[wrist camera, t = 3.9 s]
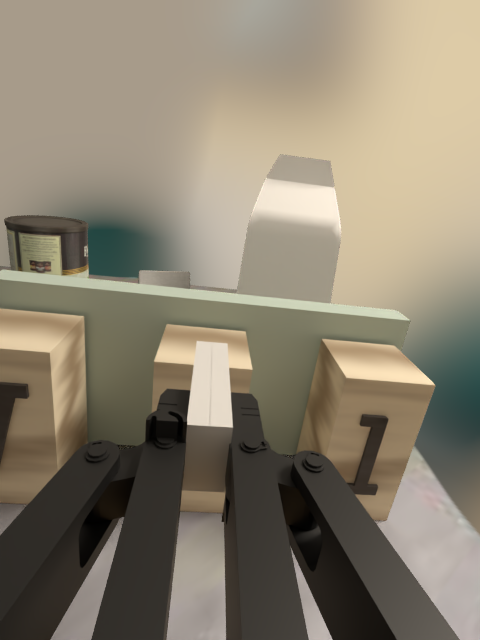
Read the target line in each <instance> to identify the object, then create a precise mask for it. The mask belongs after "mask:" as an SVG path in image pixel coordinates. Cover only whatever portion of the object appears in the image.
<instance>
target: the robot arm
mask: <svg viewBox="0 0 480 640" xmlns="http://www.w3.org/2000/svg"><path fill="white" fill-rule="evenodd" d="M182 491H205V492H224V491H225V492H226V493H225V500H224V508H223V515H222V522H224V538H225V592H226V640H309V639H308V634H307V629H306V624H305V619H304V614H303V609H302V604H301V599H300V594H299V589H298V584H297V578H296V573H295V568H294V563H293V558H292V553H291V548H292V551H293V553H294V555H295V557H296V560H297V562H298V564H299V566H300V568H301V571H302V573H303V575H304V577H305V579H306V582H307V584H308V586H309V588H310V590H311V593H312V595H313V597H314V599H315V601H316V604H317V606H318V608H319V610H320V613H321V615H322V617H323V619H324V621H325V624H326V626H327V628H328V630H329V632H330V635H331V637H332V639H333V640H460V639H459V638H458V637H457V635H456V634H455V633H454V631H453V630H452V628H451V627H450V626H449V624H448V623H447V621H446V620H445V619H444V617H443V616H442V615H441V613H440V612H439V610H438V609H437V608H436V606H435V605H434V603H433V602H432V601H431V599H430V598H429V596H428V595H427V594H426V592H425V591H424V590H423V588H422V587H421V585H420V584H419V583H418V581H417V580H416V578H415V577H414V576H413V574H412V573H411V572H410V570H409V569H408V567H407V566H406V565H405V563H404V562H403V560H402V559H401V558H400V556H399V555H398V554H397V552H396V551H395V549H394V548H393V547H392V545H391V544H390V542H389V541H388V540H387V538H386V537H385V535H384V534H383V533H382V531H381V530H380V529H379V527H378V526H377V524H376V523H375V522H374V520H373V519H372V517H371V516H370V515H369V513H368V512H367V511H366V509H365V508H364V506H363V505H362V504H361V502H360V501H359V499H358V498H357V497H356V495H355V494H354V493H353V491H352V490H351V488H350V487H349V486H348V484H347V483H346V481H345V480H344V479H343V477H342V476H341V475H340V473H339V472H338V470H337V469H336V468H335V466H334V465H333V463H332V462H331V461H330V460H329V459H328V458H327V457H326V456H324V455H322V454H321V453H318V452H315V451H307V450H304V451H301V452H298V453H297V454H296V455H295V456H294V459H293V458H289V457H286V456H283V455H280V454H278V453H276V452H274V451H273V450H272V449H271V447H270V445H269V443H268V442H267V441H266V440H265V439H264V433H263V428H262V423H261V417H260V412H259V406H258V401H257V400H256V399H255V397H254V396H253V395H252V394H249V393H234V392H231V390H230V375H229V360H228V344H227V343H216V342H204V341H197V343H196V351H195V359H194V367H193V375H192V383H191V390H179V389H166V390H165V391H164V392H163V393H162V394H161V395H160V398H159V402H158V406H157V411H154V412H153V413H151V414H150V415H149V416H148V417H147V419H146V431H145V442H143V443H142V444H140V445H138V446H136V447H133V448H129V449H123V450H119V447H118V446H117V445H116V444H115V443H113V442H111V441H107V440H97V441H91V442H89V443H87V444H84V445H83V446H81V447H80V448H79V449H78V450H77V451H76V452H75V453H74V454H73V455H72V456H71V457H70V459H69V460H68V461H67V462H66V463H65V464H64V465H63V466H62V467H61V469H60V470H59V471H58V472H57V473H56V474H55V475H54V476H53V477H52V479H51V480H50V481H49V482H48V483H47V484H46V485H45V486H44V487H43V489H42V490H41V491H40V492H39V493H38V494H37V495H36V496H35V497H34V499H33V500H32V501H31V502H30V503H29V504H28V505H27V506H26V507H25V509H24V510H23V511H22V512H21V513H20V514H19V515H18V516H17V517H16V519H15V520H14V521H13V522H12V523H11V524H10V525H9V526H8V527H7V529H6V530H5V531H4V532H3V533H2V534H1V535H0V640H50V639H51V637H52V635H53V634H54V632H55V630H56V628H57V627H58V625H59V623H60V622H61V620H62V618H63V616H64V615H65V613H66V611H67V609H68V608H69V606H70V604H71V603H72V601H73V599H74V597H75V596H76V594H77V592H78V590H79V589H80V587H81V585H82V584H83V582H84V580H85V578H86V577H87V575H88V573H89V571H90V570H91V568H92V566H93V565H94V563H95V561H96V559H97V558H98V556H99V554H100V553H101V551H102V549H103V547H104V546H105V544H106V542H107V540H108V539H109V537H110V535H111V534H112V532H113V530H114V528H115V527H116V525H117V523H118V520H119V518H121V517H124V521H123V525H122V528H121V532H120V536H119V539H118V543H117V547H116V551H115V554H114V558H113V562H112V565H111V569H110V573H109V577H108V580H107V584H106V588H105V591H104V595H103V599H102V602H101V606H100V610H99V614H98V617H97V621H96V625H95V628H94V632H93V636H92V639H91V640H166V637H167V628H168V619H169V609H170V600H171V591H172V581H173V572H174V563H175V553H176V544H177V535H178V526H179V516H180V507H181V496H182ZM290 546H291V548H290Z"/></svg>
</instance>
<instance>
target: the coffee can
mask: <svg viewBox="0 0 480 640" xmlns="http://www.w3.org/2000/svg"><path fill="white" fill-rule="evenodd" d="M4 221H5V225H6V227H7V236H8V246H9V255H10V265H11V271H21V272H30V273H40V274H50V275H59V276H69V277H79V278H88V238H87V230H88V223H86V222H84V221H81V220H77V219H71V218H63V217H54V216H33V215H31V216H30V215H29V216H28V215H27V216H12V217H8V218H5V219H4ZM88 279H89V278H88Z"/></svg>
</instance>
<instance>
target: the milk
mask: <svg viewBox="0 0 480 640" xmlns="http://www.w3.org/2000/svg"><path fill="white" fill-rule="evenodd" d="M340 241H341V223H340V216H339V211H338V204H337V198H336V192H335V189H334V181H333V175H332V169H331V163H330V161H327V160H318V159H311V158H304V157H297V156H296V157H295V156H289V155H279V157H278V159H277V160H276V162H275V164H274V165H273V167H272V169H271V170H270V172H269V174H268V175H267V179H266V180H265V181H264V184H263V186H262V189H261V191H260V193H259V196H258V198H257V201H256V203H255V206H254V208H253V211H252V214H251V217H250V220H249V225H248V230H247V235H246V240H245V246H244V252H243V258H242V264H241V270H240V276H239V282H238V287H237V293H236V294H243V295H253V296H262V297H272V298H282V299H291V300H301V301H311V302H320V303H330V301H331V295H332V289H333V283H334V278H335V272H336V265H337V259H338V253H339V248H340Z"/></svg>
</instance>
